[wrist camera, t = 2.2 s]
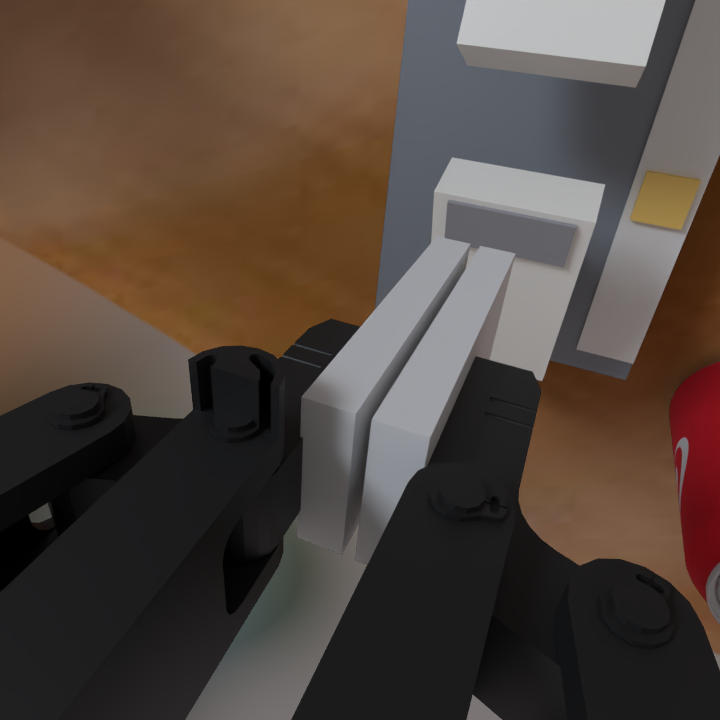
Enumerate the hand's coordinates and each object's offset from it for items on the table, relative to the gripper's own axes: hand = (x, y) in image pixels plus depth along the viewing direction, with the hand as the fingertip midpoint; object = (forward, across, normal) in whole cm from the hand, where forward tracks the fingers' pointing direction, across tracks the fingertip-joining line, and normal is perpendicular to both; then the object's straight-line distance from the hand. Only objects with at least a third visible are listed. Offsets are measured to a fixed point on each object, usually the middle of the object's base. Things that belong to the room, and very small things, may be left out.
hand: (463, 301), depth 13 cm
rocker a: (+9, 0, -3) cm, 9 cm away
